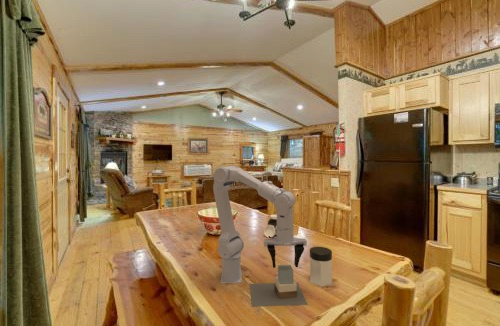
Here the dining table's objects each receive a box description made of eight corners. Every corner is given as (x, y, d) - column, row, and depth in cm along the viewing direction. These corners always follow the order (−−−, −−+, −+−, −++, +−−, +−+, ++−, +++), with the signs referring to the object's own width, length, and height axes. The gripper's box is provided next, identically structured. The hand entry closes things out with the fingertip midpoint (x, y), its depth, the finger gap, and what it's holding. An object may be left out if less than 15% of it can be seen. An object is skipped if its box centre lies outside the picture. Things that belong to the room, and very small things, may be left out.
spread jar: (283, 232, 155) (283, 214, 154) (284, 238, 144) (284, 218, 143) (264, 232, 156) (264, 214, 156) (263, 238, 145) (263, 218, 144)
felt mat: (249, 284, 92) (249, 283, 92) (297, 283, 93) (297, 282, 93) (251, 307, 78) (251, 306, 78) (308, 305, 79) (308, 304, 79)
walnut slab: (274, 289, 88) (274, 283, 88) (290, 287, 89) (290, 281, 89) (280, 299, 82) (279, 292, 82) (296, 296, 83) (296, 290, 83)
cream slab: (274, 283, 88) (274, 277, 88) (291, 281, 89) (290, 275, 89) (279, 292, 82) (279, 285, 82) (296, 290, 83) (296, 284, 83)
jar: (336, 281, 94) (336, 250, 94) (326, 290, 88) (326, 256, 88) (315, 274, 100) (315, 244, 100) (304, 281, 94) (304, 250, 94)
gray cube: (277, 277, 88) (277, 265, 87) (290, 277, 88) (290, 264, 88) (280, 284, 83) (280, 271, 83) (293, 283, 83) (293, 270, 83)
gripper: (265, 230, 81) (265, 272, 81) (309, 230, 81) (309, 271, 82) (263, 225, 88) (263, 262, 88) (303, 224, 88) (303, 262, 89)
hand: (285, 266), depth 85 cm, fingers open, 7 cm apart
